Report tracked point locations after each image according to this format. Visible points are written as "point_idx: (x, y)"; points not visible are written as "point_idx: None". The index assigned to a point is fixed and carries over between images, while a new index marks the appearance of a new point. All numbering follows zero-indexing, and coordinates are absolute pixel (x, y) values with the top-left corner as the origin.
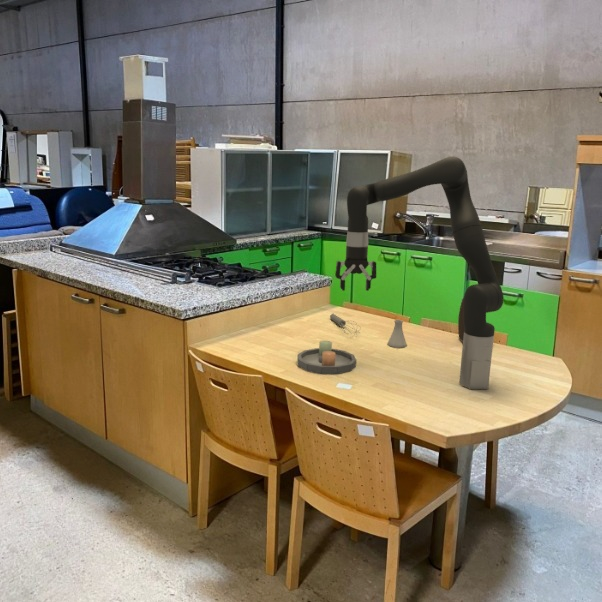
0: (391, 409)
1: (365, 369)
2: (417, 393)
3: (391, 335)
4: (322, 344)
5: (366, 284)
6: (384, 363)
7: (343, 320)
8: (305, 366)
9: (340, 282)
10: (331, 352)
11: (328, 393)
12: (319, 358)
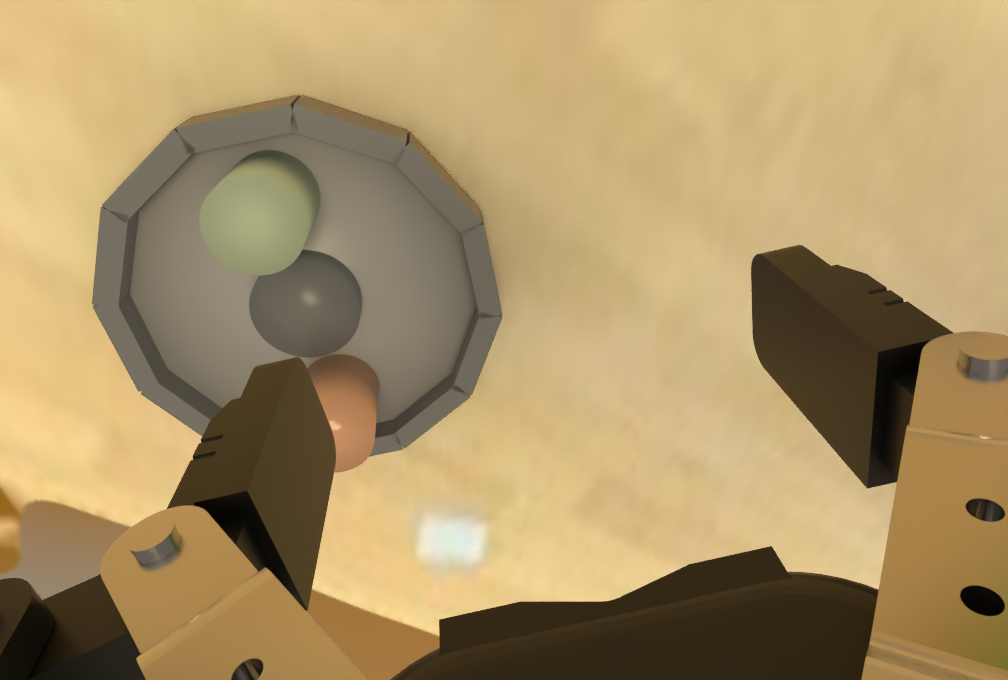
0: None
1: (553, 324)
2: (758, 537)
3: None
4: (239, 269)
5: (810, 367)
6: (678, 196)
7: None
8: None
9: (187, 503)
10: (345, 428)
11: (395, 615)
12: (263, 337)
